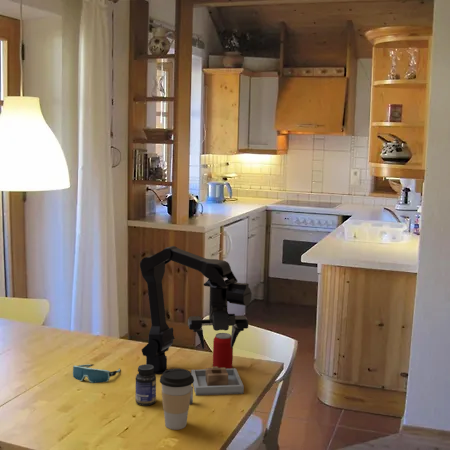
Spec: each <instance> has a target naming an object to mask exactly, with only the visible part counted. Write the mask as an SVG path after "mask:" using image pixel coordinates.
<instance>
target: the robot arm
mask: <svg viewBox="0 0 450 450" xmlns="http://www.w3.org/2000/svg"><path fill="white" fill-rule="evenodd" d="M170 262H174V263H178V264H179V265H182V266H184V267H188V268H190V269H193V270H196V271H198V272H199V273H201V274H202V275H203V277H205V278H206V279H207V280H206V282H205V283H203V286H204V287H208V288H209V303H208V304H209V307H208V308H209V309H208V310H209V311H208V313H209V314H208V318H207V319H206V318H205V319H204V318H203V319H202V317H201V315H200V316H199V315H197V316H195V315H193V316H191V315H190V316H189V317H188V318H187V326H188V329H189V330H190V331H191V330H192V332H194V333H196V334H197V335H198V336H197V337H198V338H199V342H200V345H201V348H202V350H204V349H205V341H204V330H203V326H212V328H213V331H228V330H229V329H230V326H231V334H230V335H231V348H233V349H234V345H235V342H236V341H237V338H238V336H239V334H240V333H241V332H243V331H245V329H249V320H248V318H247V316H246V315H243V314H242V315H237V314H235V313H229V311H228V303H229V304H232V305H240V306H244V307H245V306H246V307H248V306H249V305H250V303H251V300H252V295H253V293H252V289H251V288H250V287H249V285H250V284H249V282H248V283H246V282H244V283H243V282H238V279H237V277H236V275H235V274H234V272H233V271H232V269H231V266H230V263H229V262H228V261H227V260H223V259H216V258H215V259H214V258H206V257H202V256H200V255H197V254H195V253H192V252H189V251H186V250H184V249H181V248H179V247H177V246H175V245H172V246H168V247H164V249H162V250H160V251H159V252H157V253H155V254H152V255H148V256H145V257H143V258H142V259H141V260H140V261H139V269H140V272H141V276H142V278H143V279H144V281H145V282H146V285H147V294H148V302H149V313H150V314H149V315H150V323H151V327H150V330H149V331H148V332H149V333H148V337H147V338H148V341H147V344H146V345H144V347H142V349H141V352H142V356H143V357H144V356H145V357H146V358H145V364H149V365H152V366H154V371H153V373H154V374H155V375H156V374H157V375H159V374H162V375H163V372H164V371H166V370H168V367H167V366H168V365H167V363H168V357H167V355H166V352H168V351H169V349H170V348H171V346H172V345H173V343H174V340H175V339H176V338H175V336H174V328H173V327H169V325H168V323H167V320H166V310H165V300H164V292H163V291H164V290H163V279H164V275H165V271H166V265H167V264H169V263H170Z"/></svg>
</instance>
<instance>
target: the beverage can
mask: <svg viewBox="0 0 450 450" xmlns="http://www.w3.org/2000/svg"><path fill="white" fill-rule="evenodd" d="M233 356H234V347H233V348H231V334H230V333H228V332H217V333H216V334H215V336H214V338H213V346H212V368H213V367H216V366H217V367H218V368H226V369H233V361H234V360H233Z"/></svg>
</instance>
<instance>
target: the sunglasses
mask: <svg viewBox="0 0 450 450" xmlns="http://www.w3.org/2000/svg"><path fill="white" fill-rule="evenodd" d="M92 366H95V364H79V365H73V366H72V377H73V378H74V379H75V380H77V381H80V382H83V381H85V380H86V378H87V380H88V382H89V383H92V384H96V383H97V384H98V383H107V382H109V380H110V378H111V377H114V376H116V375H117V374H118V373H120V372H121V369H120V368H118V369H117V370H114V371H111V370H107V369H98V368H92Z"/></svg>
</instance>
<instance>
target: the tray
mask: <svg viewBox="0 0 450 450" xmlns="http://www.w3.org/2000/svg"><path fill="white" fill-rule="evenodd" d="M226 371H227V373H228V385H224V386H207V383H206V368H204V369H190V372H191V375H192V376H193V377H194V382H193V383H192V387H193V391H194V393H195V396H210V395H211V396H215V395H216V396H219V395H242V394H244V393H245V391H244V384H243V381H242V380H241V377H240V375H239V372H238V370H237V368H231V369H226Z"/></svg>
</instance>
